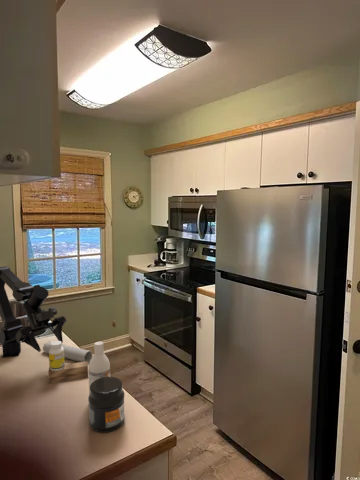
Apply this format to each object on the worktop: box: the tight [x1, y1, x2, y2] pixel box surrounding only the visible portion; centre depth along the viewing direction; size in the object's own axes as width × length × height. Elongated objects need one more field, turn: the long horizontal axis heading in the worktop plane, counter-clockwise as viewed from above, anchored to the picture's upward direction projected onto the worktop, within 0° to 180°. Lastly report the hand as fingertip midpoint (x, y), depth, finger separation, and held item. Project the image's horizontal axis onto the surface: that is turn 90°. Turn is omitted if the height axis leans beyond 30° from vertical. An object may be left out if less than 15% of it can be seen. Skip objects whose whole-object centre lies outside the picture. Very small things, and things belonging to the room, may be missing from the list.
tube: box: [42, 341, 93, 364], centre depth 143 cm, size 5×5×25 cm
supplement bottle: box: [48, 340, 66, 371], centre depth 124 cm, size 5×5×10 cm
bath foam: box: [88, 341, 111, 396], centre depth 110 cm, size 7×7×20 cm
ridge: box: [48, 361, 89, 384], centre depth 126 cm, size 14×6×4 cm, turn 108°
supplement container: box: [87, 376, 126, 433], centre depth 99 cm, size 10×10×12 cm
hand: (51, 347), depth 126 cm, fingers open, 9 cm apart
